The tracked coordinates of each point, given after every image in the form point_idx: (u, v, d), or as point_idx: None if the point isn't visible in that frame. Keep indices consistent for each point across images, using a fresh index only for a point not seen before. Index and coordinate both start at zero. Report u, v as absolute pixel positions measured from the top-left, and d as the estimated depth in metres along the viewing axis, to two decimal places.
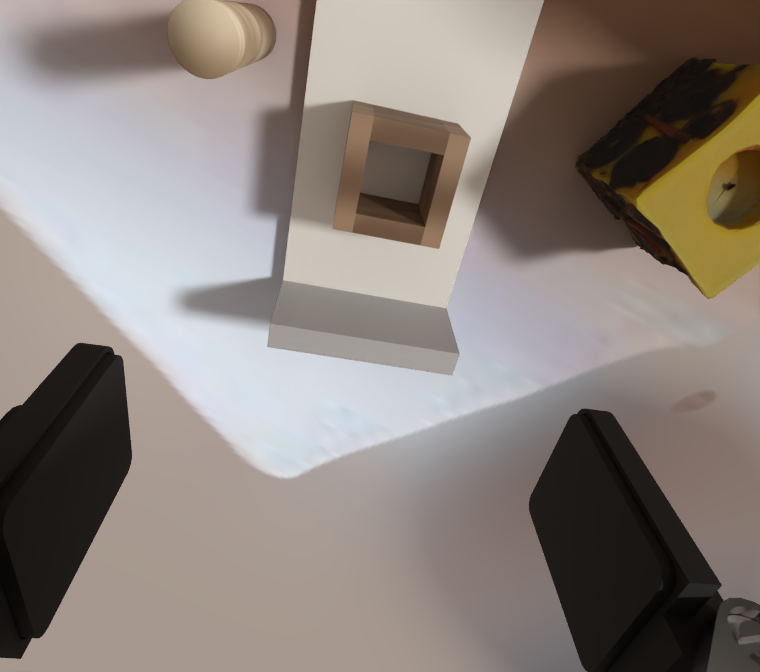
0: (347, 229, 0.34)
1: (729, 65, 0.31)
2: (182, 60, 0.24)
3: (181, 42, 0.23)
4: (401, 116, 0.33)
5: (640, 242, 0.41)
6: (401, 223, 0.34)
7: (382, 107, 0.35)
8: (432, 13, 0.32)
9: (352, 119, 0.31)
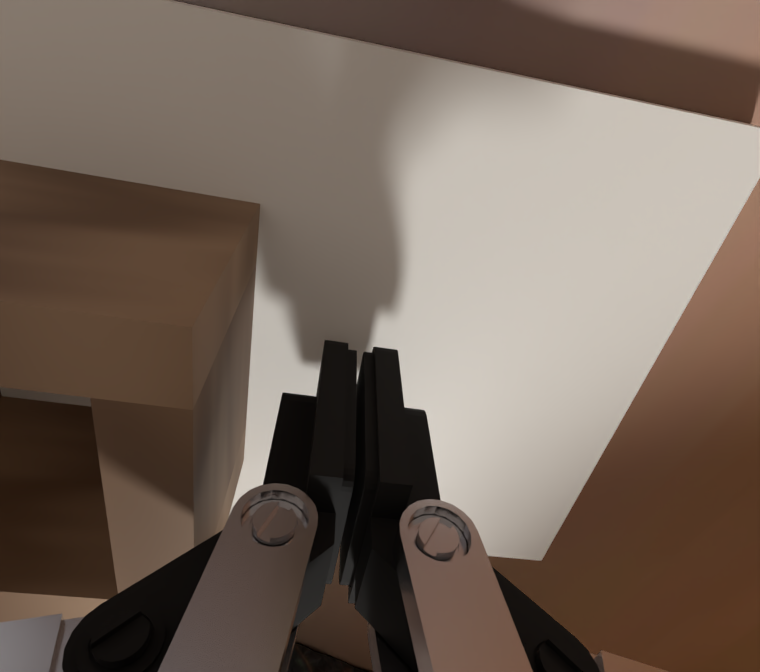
0: None
1: None
2: None
3: None
4: (227, 403, 0.10)
5: None
6: None
7: (251, 298, 0.11)
8: (503, 394, 0.13)
9: (157, 328, 0.06)
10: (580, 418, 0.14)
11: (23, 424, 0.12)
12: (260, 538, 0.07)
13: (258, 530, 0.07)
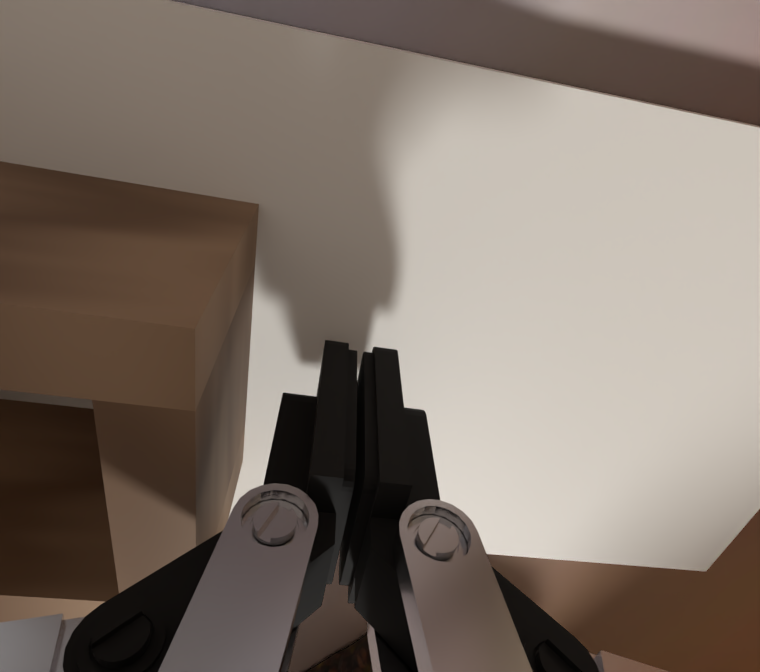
0: None
1: None
2: None
3: None
4: (228, 404, 0.10)
5: None
6: None
7: (250, 299, 0.11)
8: (715, 419, 0.14)
9: (159, 330, 0.06)
10: None
11: (21, 427, 0.12)
12: (261, 538, 0.07)
13: (259, 530, 0.07)
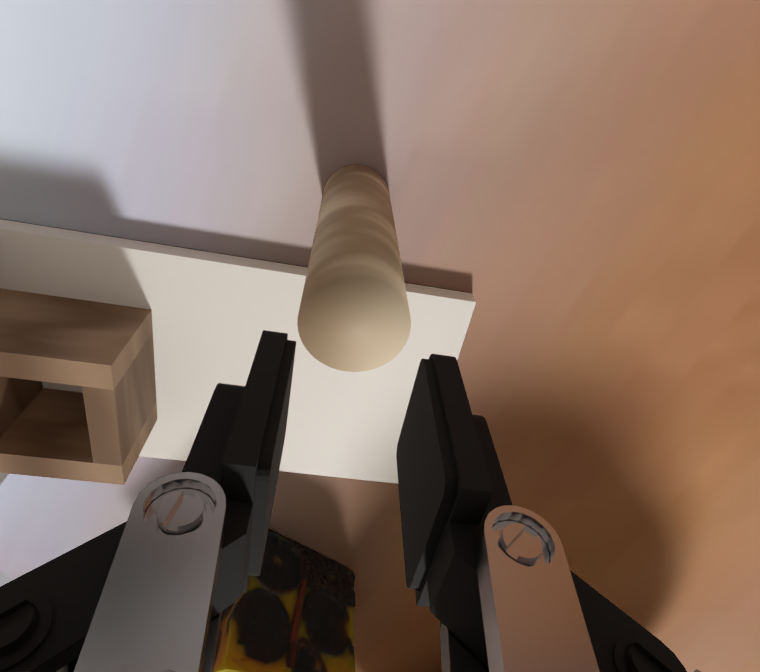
0: None
1: (352, 631, 0.36)
2: (321, 291, 0.14)
3: (349, 293, 0.14)
4: (136, 389, 0.26)
5: None
6: None
7: (150, 346, 0.27)
8: (383, 400, 0.30)
9: (101, 366, 0.22)
10: None
11: (53, 400, 0.28)
12: (167, 529, 0.07)
13: (164, 521, 0.07)
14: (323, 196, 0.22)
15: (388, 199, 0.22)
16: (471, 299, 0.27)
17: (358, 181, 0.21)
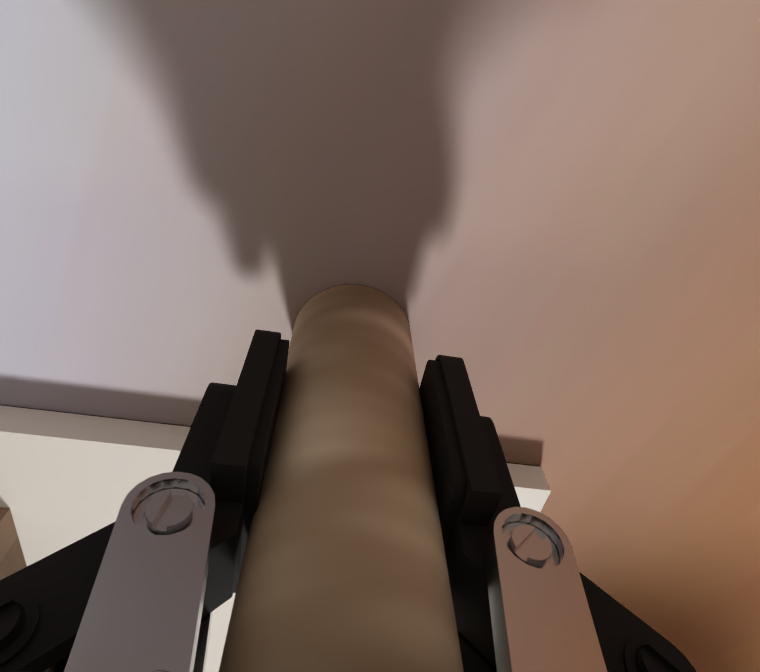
0: None
1: None
2: None
3: None
4: None
5: None
6: None
7: (14, 560, 0.16)
8: None
9: None
10: None
11: None
12: (156, 529, 0.07)
13: (152, 522, 0.07)
14: (288, 359, 0.12)
15: (412, 370, 0.11)
16: (541, 483, 0.16)
17: (354, 345, 0.11)
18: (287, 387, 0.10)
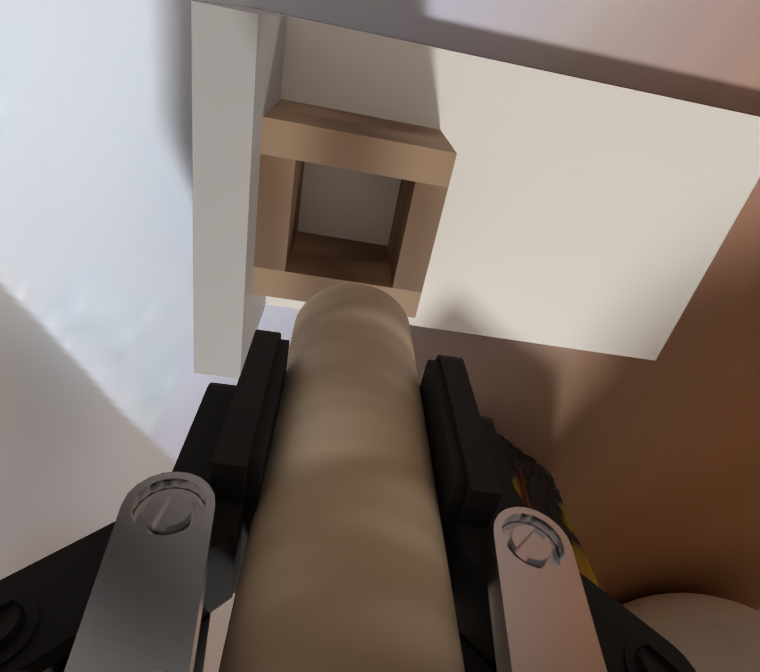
0: (265, 145, 0.19)
1: (570, 524, 0.34)
2: None
3: None
4: None
5: None
6: (286, 236, 0.21)
7: None
8: (652, 251, 0.28)
9: (445, 153, 0.20)
10: (688, 266, 0.28)
11: (315, 240, 0.26)
12: (156, 529, 0.07)
13: (153, 521, 0.07)
14: (288, 358, 0.12)
15: (413, 369, 0.11)
16: None
17: (354, 344, 0.11)
18: (287, 386, 0.10)
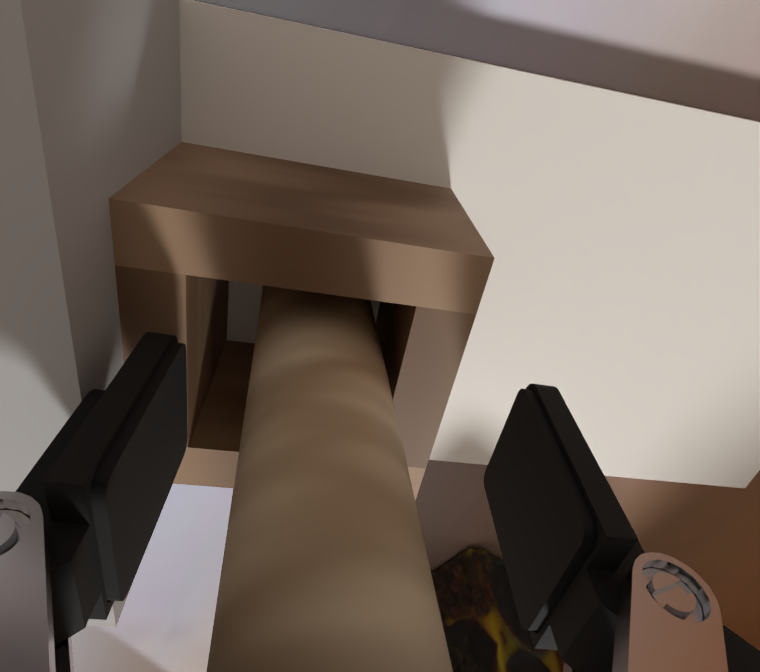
0: (122, 250, 0.10)
1: None
2: None
3: None
4: None
5: None
6: None
7: None
8: None
9: (473, 259, 0.10)
10: None
11: None
12: None
13: None
14: (262, 302, 0.14)
15: (369, 305, 0.14)
16: None
17: None
18: (264, 320, 0.12)
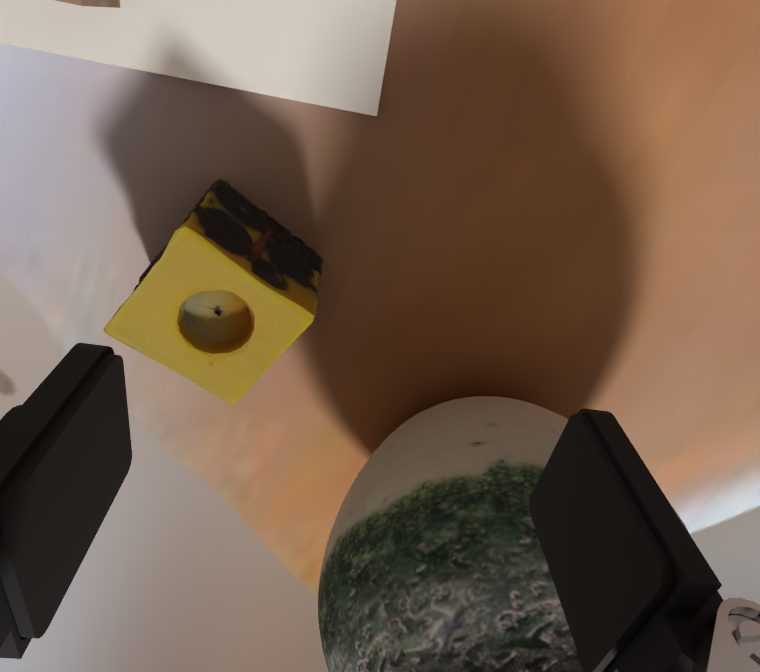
0: None
1: (316, 282, 0.37)
2: None
3: None
4: None
5: None
6: None
7: None
8: None
9: None
10: (376, 5, 0.31)
11: None
12: None
13: None
14: None
15: None
16: None
17: None
18: None
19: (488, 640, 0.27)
